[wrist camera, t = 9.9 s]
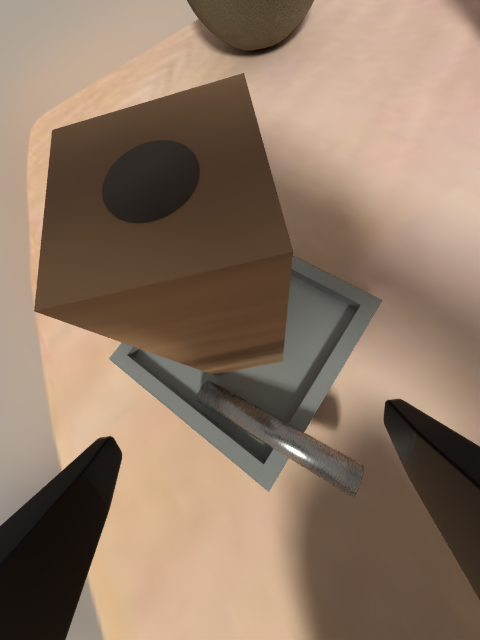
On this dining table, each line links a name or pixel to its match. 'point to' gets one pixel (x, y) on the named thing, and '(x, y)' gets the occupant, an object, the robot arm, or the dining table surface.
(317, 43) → the dining table surface
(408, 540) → the dining table surface
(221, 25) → the cantaloupe
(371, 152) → the dining table surface
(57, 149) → the walnut block
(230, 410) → the rod
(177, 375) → the tray
